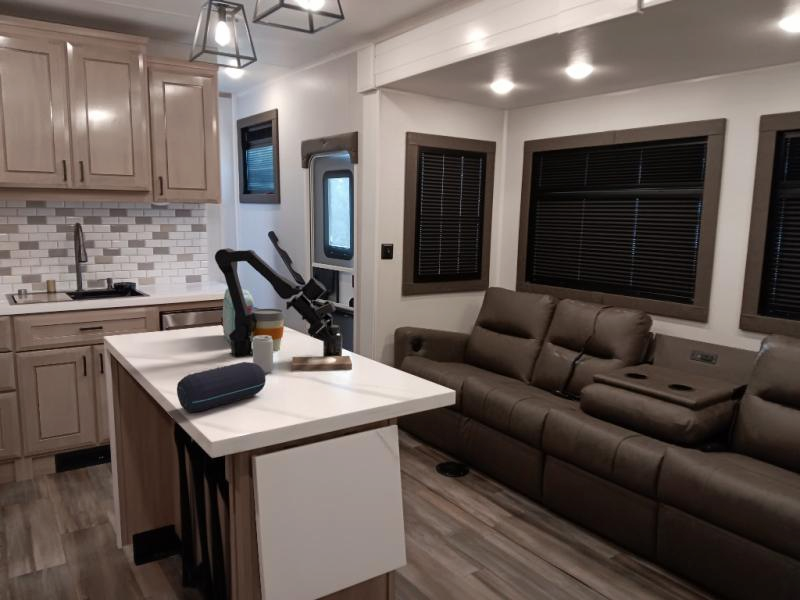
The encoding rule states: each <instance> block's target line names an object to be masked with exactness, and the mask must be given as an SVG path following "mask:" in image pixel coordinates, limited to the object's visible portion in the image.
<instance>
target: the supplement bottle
mask: <svg viewBox="0 0 800 600" xmlns="http://www.w3.org/2000/svg"><path fill="white" fill-rule="evenodd" d="M340 327H341V326H340V325H337V324H332V325H327V331H328V332H329V333H330V335H331V336H332V338H333V339H334V340H335V343H334V344H331V343H329V342H327V341H324V340H322V341H323V342H322V348H323V349H322V351H323V352H322V355H323V356H343V335H342V333H341V332H340V331H341V330H340Z"/></svg>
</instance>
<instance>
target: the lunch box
mask: <svg viewBox="0 0 800 600" xmlns="http://www.w3.org/2000/svg"><path fill="white" fill-rule="evenodd" d="M241 288H242V286H241ZM242 292H243V295H244V299H245V302H246V306H247V309H248V310H249V312H250V313H251V312H252V311H253V310H255V304H254V302H255V301H254V298H253V295H252V294H250V292H248V291H247V290H246V289H242ZM222 302H223V304H222V316H221V317H220V319H221V327H222V331H223V335H224V337H225V338H226V340H227V341H228V342H229V343H230V344H231V340H230V337H229V335H230V334H231V333H232V332H233V331H234V330H235V322H234V321H235V310H234V307H233V303H232V300H231V296H230V293H229V290H228V288H226V289H225V292H224V297H223V301H222ZM249 338H250V341H251V342H252V343H253V340H254V338H253V333H251V336H249Z"/></svg>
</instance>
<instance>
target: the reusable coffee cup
mask: <svg viewBox="0 0 800 600" xmlns="http://www.w3.org/2000/svg"><path fill="white" fill-rule="evenodd" d="M284 311H285V310H283V309H279V308H259V309H254V310H253V311H252V312H251V313H253V312H254V314H255V319H256V321H257V323H256V328H255V330H254V331H253V332H252V333H253V338H254V337H255V336H259V335H269V336H272V340H273V351H276V352H279V351H280V350H281V343H282V338H283V337H284V328H285V327H284V326H285V325H284V319H285V318H286V317H285V312H284ZM278 350H279V351H278Z"/></svg>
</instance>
